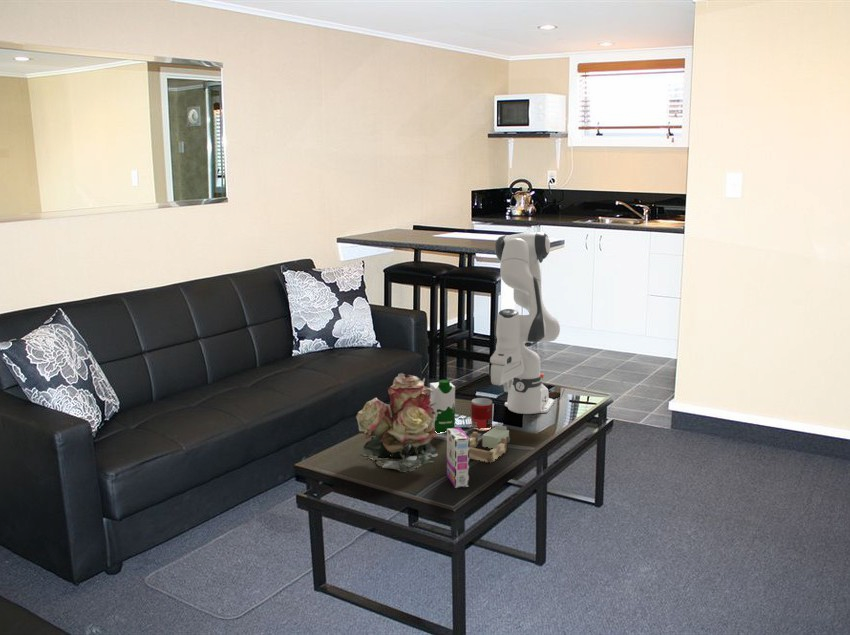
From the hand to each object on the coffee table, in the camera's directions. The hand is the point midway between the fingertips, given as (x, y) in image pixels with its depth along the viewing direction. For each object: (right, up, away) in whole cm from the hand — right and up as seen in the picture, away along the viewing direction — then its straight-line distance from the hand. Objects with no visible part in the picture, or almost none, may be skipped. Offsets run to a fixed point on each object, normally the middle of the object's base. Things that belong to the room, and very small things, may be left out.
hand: (507, 391), depth 298 cm
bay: (-10, -21, -13) cm, 26 cm away
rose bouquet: (-38, -22, -15) cm, 46 cm away
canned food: (-9, -16, +12) cm, 22 cm away
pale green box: (-5, -19, -4) cm, 20 cm away
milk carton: (-24, -16, +11) cm, 31 cm away
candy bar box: (-20, -26, -35) cm, 48 cm away
